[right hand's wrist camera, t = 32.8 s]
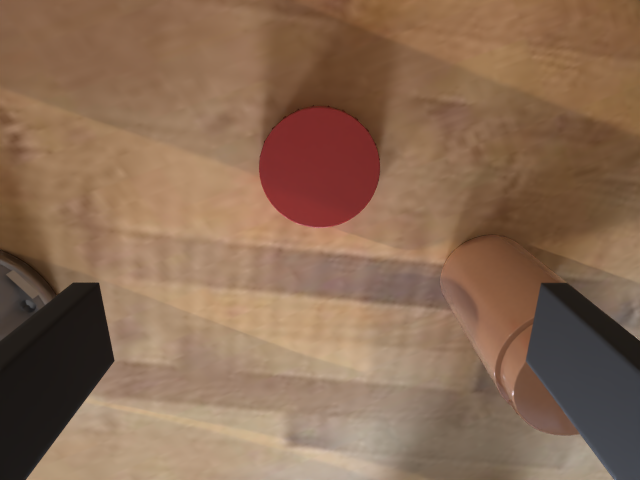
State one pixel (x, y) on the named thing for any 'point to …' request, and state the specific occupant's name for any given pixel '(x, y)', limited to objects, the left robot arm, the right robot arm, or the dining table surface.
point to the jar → (504, 321)
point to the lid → (319, 166)
